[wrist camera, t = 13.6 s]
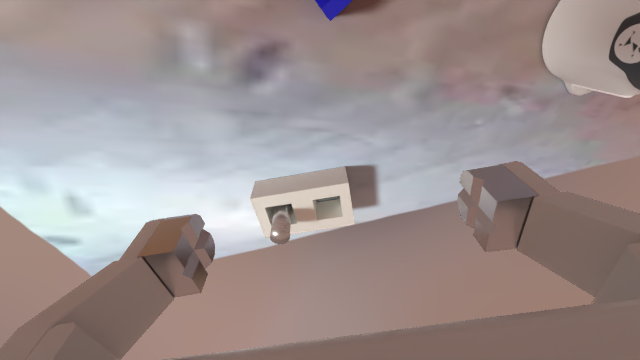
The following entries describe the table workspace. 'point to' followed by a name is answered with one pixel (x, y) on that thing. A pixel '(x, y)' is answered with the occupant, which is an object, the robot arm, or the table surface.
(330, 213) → the hole block
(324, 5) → the cable clip
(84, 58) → the table surface
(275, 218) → the peg
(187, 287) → the robot arm
